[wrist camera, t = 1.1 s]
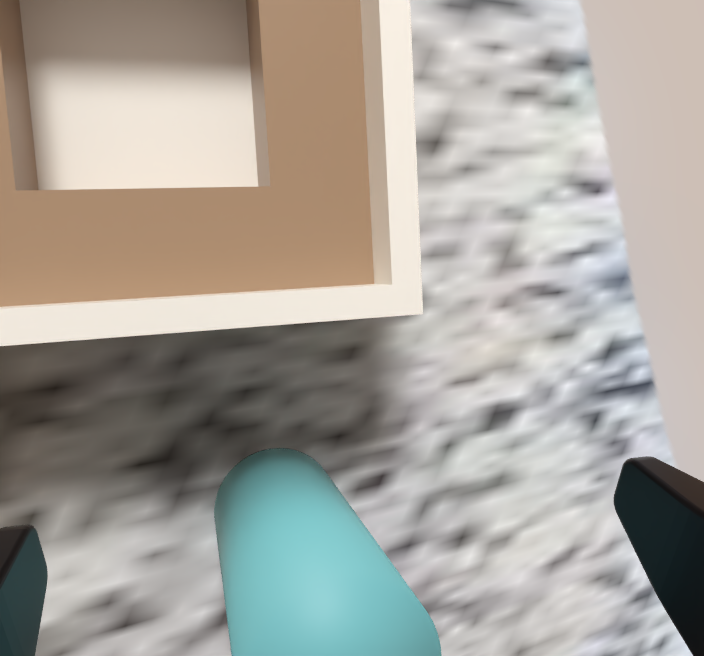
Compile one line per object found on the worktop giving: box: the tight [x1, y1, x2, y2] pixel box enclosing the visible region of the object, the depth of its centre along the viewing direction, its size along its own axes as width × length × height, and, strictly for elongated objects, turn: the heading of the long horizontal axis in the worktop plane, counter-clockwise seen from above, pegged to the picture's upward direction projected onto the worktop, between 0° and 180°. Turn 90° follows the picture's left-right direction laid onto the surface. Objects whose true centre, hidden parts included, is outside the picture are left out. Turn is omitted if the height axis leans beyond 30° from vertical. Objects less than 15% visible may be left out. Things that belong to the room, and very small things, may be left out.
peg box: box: [0, 0, 423, 346], centre depth 16 cm, size 13×13×5 cm
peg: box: [214, 448, 441, 656], centre depth 16 cm, size 4×4×9 cm
